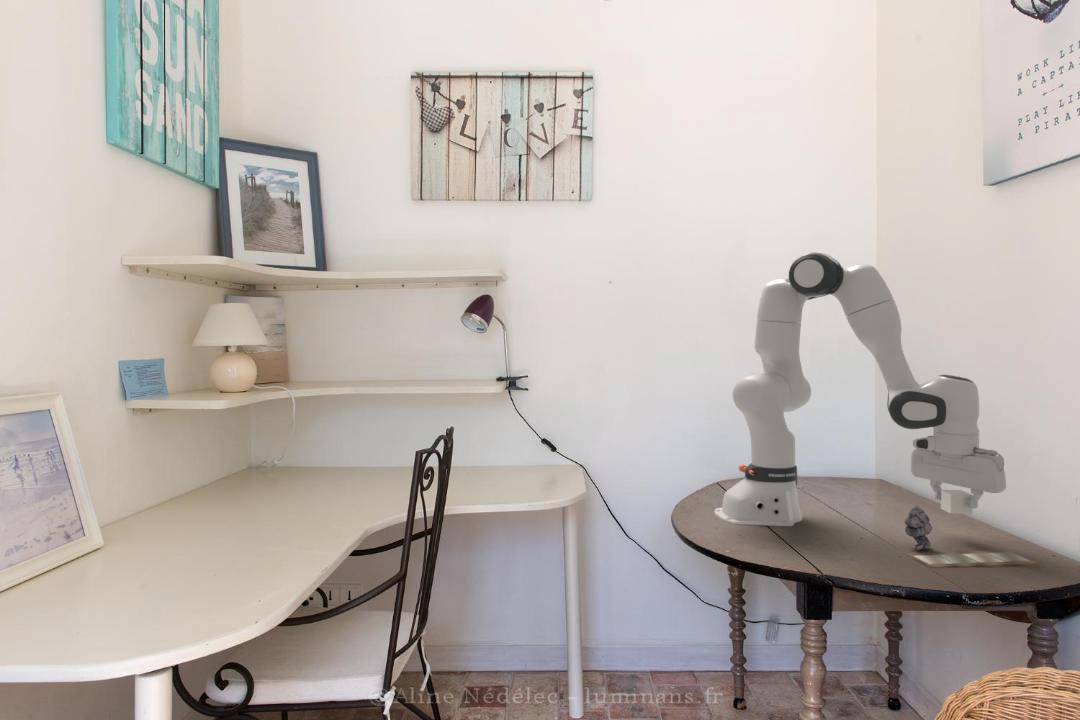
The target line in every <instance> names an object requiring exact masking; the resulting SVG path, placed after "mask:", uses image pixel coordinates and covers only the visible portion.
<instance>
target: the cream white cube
mask: <svg viewBox="0 0 1080 720" xmlns="http://www.w3.org/2000/svg"><path fill="white" fill-rule="evenodd" d="M972 496H973V494H972V493H969V492H967V491H964V490H961V489H942V490H941V501H940V510H943V511H945V512H946V513H949V514H951V515H972V514H973V508H969V507H967V506H966V504H967V503H966V500H967V499H971V497H972Z"/></svg>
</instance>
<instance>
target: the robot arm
mask: <svg viewBox="0 0 1080 720" xmlns="http://www.w3.org/2000/svg"><path fill="white" fill-rule="evenodd" d="M828 295H830V296H834V297H835V298H836V299H837V300H838V302H839V303H840V306H841V307H842V310H843V313H844V316H845V317H846V320H847V322H848V324H849V326H850V328H851V329H852V332H853V333H854V335H855V336H856V337H857V339H858V340H859V342H861V344H862V345H864V347H866V349H867V350H869V352H870V353H871V354H872V356H873V358H874V359H875V361H876V363H877V365H878V368H879V370H880V372H881V374H882V377H883V380H884V382H885V385H886V388H887V391H888V392H887V393H888V394H887V402H886V403H887V404H886V405H887V410H888V413H889V416H890V418H891V420H892V421H893V422H894V423H895V424H897V425H898V426H899V427H902V428H903V429H907V430H921V429H926V428H927V429H928V428H929V429H930V428H933V430H932V433H933V434H932V435H927V436H925V437H920V438H915V439H913V440H912V447H913V451H911V455H910V473H911V474H912V475H913V477H914V478H919V479H924V480H929V483H930V484H929V485H930V487H931V488H932V491H933V492H934V499H935V500H937V501H940V502H941V490H943V489H942V487H941V485H942V484H947V485H953V486H957V487H962V488H966V489H970V494H971V495H972V497H971V499H967V500H966V503H967V504H966V506H967V507H969V508H972V510H973V509H978V507H979V506H978V505H979V503H978V502H979V500H980V499H981V497H982V496H984V492H986V493H990V494H998V493H1002V492H1004V491H1005V490H1006V488H1007V479H1006V471H1005V458H1004V457H1003V456H1002V454H1000V453H999V452H998V451H997V450H994V449H993V450H992V449H990V450H989V449H985V448H980V429H979V427H978V419H979V417H980V398H979V389H978V387H977V385H976V383H975V382H974V381H973V380H971V379H969V378H966V377H962V376H957V375H950V374H940V375H937V376H936V377H934V378H933V379H931V380H929V381H926V382H925V383H922V384H919V383H918V382H917V381H916V379H915V377H914V375H913V373H912V370H911V367H910V366H909V363H908V361H907V358H906V357H905V354H904V351H903V347H902V322H901V317H900V313H899V309H898V306H897V304H896V301H895V299H894V297H893V295H892V291H891V290H890V289H889V287H888V285H887V283H886V282H885V280H884V278H883V277H882V275H881V274H880V272H879V271H878V270H877V268H876V267H874V266H873V265H871V264H868V263H866V264H865V263H862V264H861V263H859V264H856V265H852V266H848V267H843V266H842V265H841V263H840V262H839V261H838V260H837V259H835V258H834V257H832V256H831V255H829V254H825V253H822V252H807V253H804V254H802V255H799V256H798V257H797V258H796V259H795V260H794V261H793V262H792V264H791V265H790V267H789V270H788V277H787V278H777V279H773V280H771V281H769V282H767V283H766V284H765V285H764V286H763V289H762V292H761V295H760V298H759V302H758V303H759V304H758V309H757V314H756V317H757V318H756V325H755V326H756V327H755V336H754V337H755V338H754V339H755V340H754V349H755V352H756V353H757V354H758V355H759V357H760V359H761V361H762V362H761V363H762V367H763V373H753V374H751V375H750V374H749V375H748V376H746V377H743V378H740V380H738V381H737V382H736V383H735V385H734V387H733V390H732V399H733V403H734V404H735V406H736V408H737V409H738V410H739V411H740V412H741V413H742V414H743V416H744V418H745V421H746V423H747V426H748V430H749V435H750V444H751V445H750V446H751V447H750V449H751V462H750V464H749V465H746V464H742V463H740V464H739V465H738V467H737V469H738V470H739V472H742V473H744V478H742V479H741V480H740V481H739V482H737V483H735V485H732V487H730V488H729V489H727V490H726V491H725V493H724V495H723V498H722V507H717V508H715V509H714V515H715V516H716V517H717V518H719V519H720V520H721V521H723V522H725V523H729V524H731V525H740V526H741V525H744V526H745V525H747V526H748V525H749V526H770V527H771V526H776V527H793V526H794V525H795V524H797V523H799V522H801V521H803V516H802V513H801V509H800V505H799V500H798V499H799V498H798V493H797V486H798V466H797V465H796V437H795V436H794V434H793V433H792V431H790V430H789V428H788V426H787V422H786V419H785V413H787V412H788V413H789V412H794V411H796V410H799V409H800V408H802V407H803V406H806V404H808V402H809V401H810V399H811V396H812V388H811V385H810V382H809V381H808V379H807V378H806V377H805V375H804V371H803V368H802V364H801V357H800V356H801V355H800V341H801V327H802V315H803V307H804V305H805V303H806V301H808V300H813V299H817V298H821V297H822V298H823V297H826V296H828Z"/></svg>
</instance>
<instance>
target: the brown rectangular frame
mask: <svg viewBox="0 0 1080 720" xmlns="http://www.w3.org/2000/svg"><path fill="white" fill-rule="evenodd" d="M905 555H906V556H907V557H909V558H911V559H913V560H915V561H917V562H919V563H921V564H923V565H925V566H926V567H929V568H930V569H942V568H943V569H944V568H945V569H946V568H948V569H949V568H953V567H954V568H987V567H988V568H989V567H990V568H991V567H1025V566H1026V567H1028V566H1032V567H1033V566H1037V567H1038V566H1039V563H1038V562H1036V561H1034V560H1032V559H1029V558H1028V557H1024V556H1022V555H1019V554H1017V553H1015V552H1012V551H1010V550H1007V549H1004V550H1003V549H1002V550H1001V549H1000V550H977V551H976V550H975V551H973V550H972V551H949V552H948V551H947V552H945V551H943V552H921V553H916V552H915V553H906V554H905ZM954 568H953V569H954Z"/></svg>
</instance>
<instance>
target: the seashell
mask: <svg viewBox="0 0 1080 720" xmlns="http://www.w3.org/2000/svg"><path fill="white" fill-rule="evenodd" d="M904 524H905V531H904V532H905V533H906V535H907V536H908V537H912V538H913V540H915V542H916V543H917V544H916V545H915V547H914V549H916V550H917V551H921V550H927V549H930V547H931V544H932V543H931V542H930V539H929V538H928V537H927V535H930V533H932V530H933V526H932V524H931V523H930V518H929V516H928V515H927V514H926V512H925V511H924V510H923V509H922V508H921V507H919V506H918V505H917V506H914V507H912V508H910V509H909V512H908V517H906V518H905V520H904Z"/></svg>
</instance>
